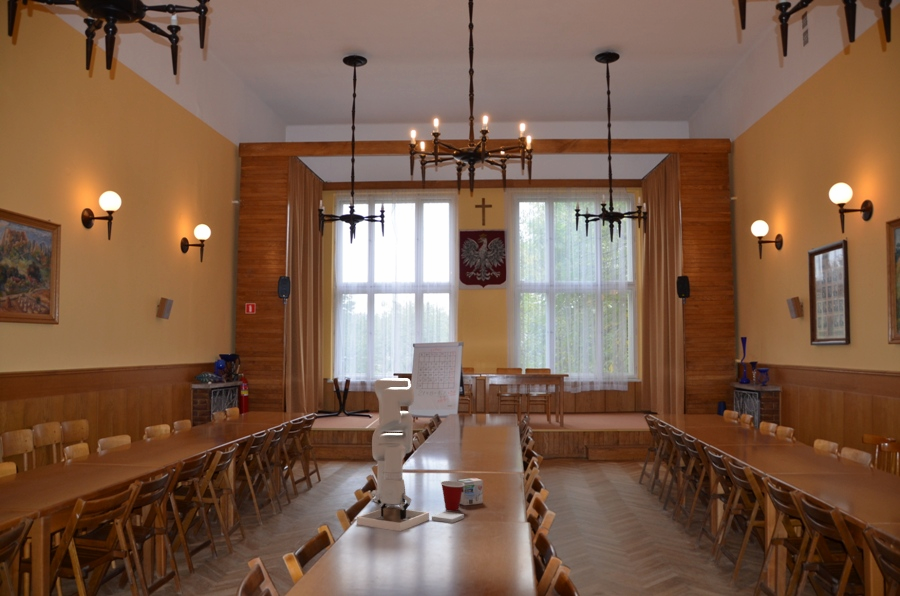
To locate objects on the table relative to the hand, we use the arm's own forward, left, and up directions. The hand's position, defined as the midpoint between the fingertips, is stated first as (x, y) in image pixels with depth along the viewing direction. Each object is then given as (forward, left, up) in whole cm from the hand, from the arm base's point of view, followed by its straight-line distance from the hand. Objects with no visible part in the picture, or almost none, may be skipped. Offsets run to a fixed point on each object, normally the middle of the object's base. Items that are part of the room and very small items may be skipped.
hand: (393, 517), depth 293 cm
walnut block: (0, 0, -2) cm, 2 cm away
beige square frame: (0, 0, -2) cm, 2 cm away
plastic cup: (+10, +32, -2) cm, 34 cm away
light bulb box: (+10, +48, -2) cm, 49 cm away
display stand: (+17, +16, -2) cm, 23 cm away
